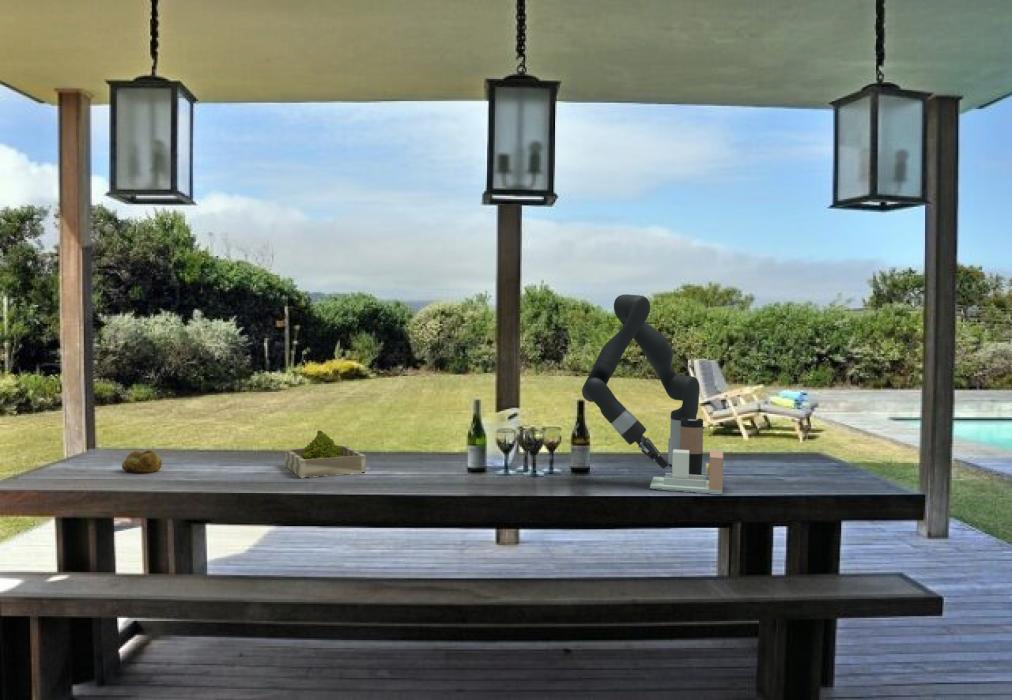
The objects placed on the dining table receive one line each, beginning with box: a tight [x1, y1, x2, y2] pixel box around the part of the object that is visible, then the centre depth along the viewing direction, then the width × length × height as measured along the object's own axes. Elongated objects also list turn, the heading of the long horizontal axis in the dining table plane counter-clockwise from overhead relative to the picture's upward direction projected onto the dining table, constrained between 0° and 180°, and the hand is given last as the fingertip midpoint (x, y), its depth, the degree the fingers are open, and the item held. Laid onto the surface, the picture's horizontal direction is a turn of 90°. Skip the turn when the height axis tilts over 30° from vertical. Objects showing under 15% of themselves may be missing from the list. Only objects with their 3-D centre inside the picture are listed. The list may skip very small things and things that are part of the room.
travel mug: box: [680, 418, 704, 475], centre depth 269 cm, size 8×8×20 cm
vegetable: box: [301, 429, 344, 460], centre depth 275 cm, size 15×16×15 cm
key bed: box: [649, 449, 724, 494], centre depth 253 cm, size 22×14×12 cm, turn 75°
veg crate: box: [284, 445, 367, 479], centre depth 275 cm, size 23×22×6 cm
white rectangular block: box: [671, 449, 689, 479], centre depth 253 cm, size 5×6×10 cm
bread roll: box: [121, 449, 163, 474], centre depth 268 cm, size 13×10×8 cm
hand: (665, 466), depth 254 cm, fingers closed
